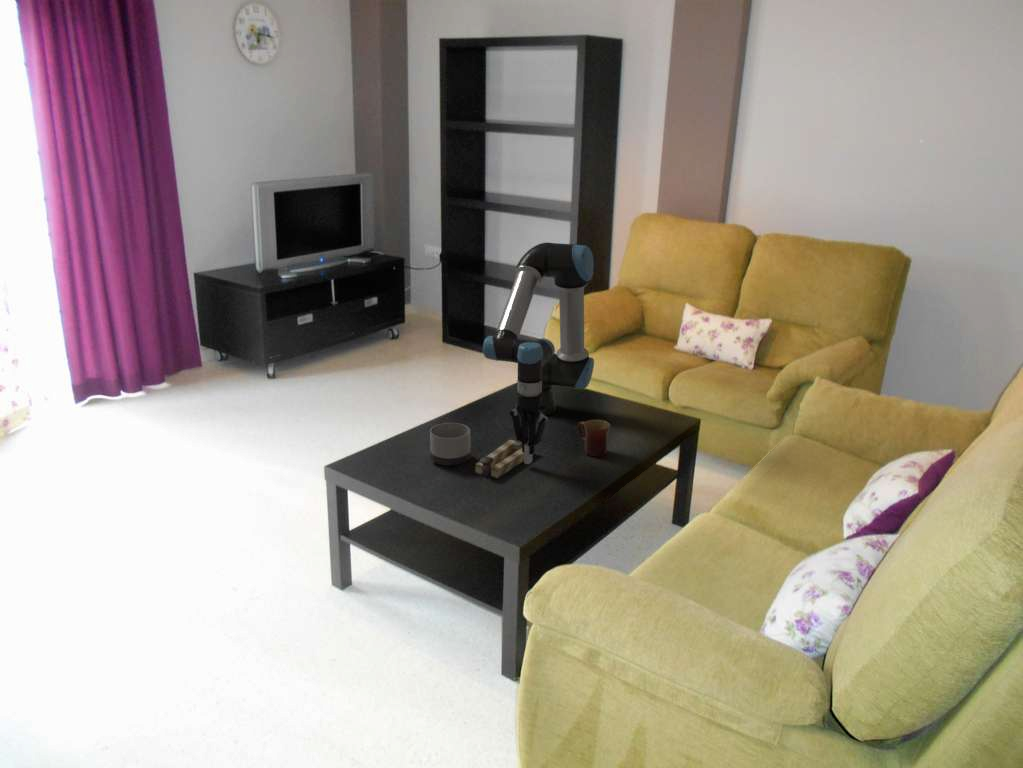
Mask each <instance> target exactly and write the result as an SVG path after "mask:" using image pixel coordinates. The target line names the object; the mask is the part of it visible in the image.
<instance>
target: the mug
mask: <svg viewBox="0 0 1023 768" xmlns="http://www.w3.org/2000/svg"><path fill="white" fill-rule="evenodd" d="M582 426H583V427H584V432H585V435H584V433H583V429H582ZM611 426H612V425H611V424H610V423H609V422H608V421H606V420H603V419H589V420H586V421H582V420H581V421H579V422H578V424H577V433H578V436H579V437H580V438H581V439H582V441H584V452H585V454H587V455H588V456H589V457H593V458H598V457H599V458H600V457H603V456H605V455H606V454H607V451H608V443H609V442H608V441H609V440H608V438H609V431H610V429H611Z"/></svg>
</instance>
